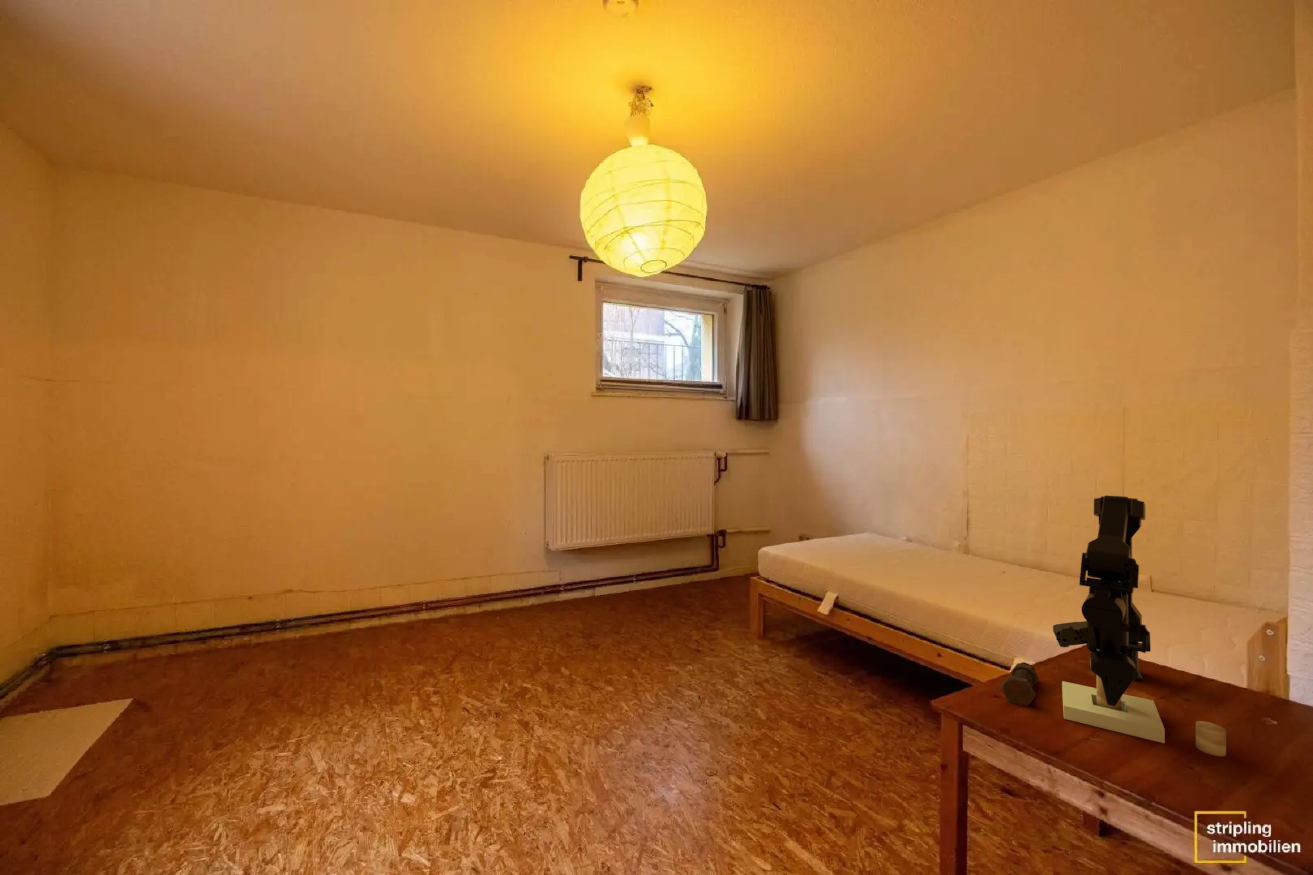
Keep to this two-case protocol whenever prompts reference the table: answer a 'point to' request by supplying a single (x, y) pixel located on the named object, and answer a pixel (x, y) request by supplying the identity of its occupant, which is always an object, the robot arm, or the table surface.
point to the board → (1113, 713)
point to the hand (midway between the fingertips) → (1108, 695)
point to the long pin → (1102, 698)
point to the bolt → (1020, 684)
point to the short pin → (1211, 738)
